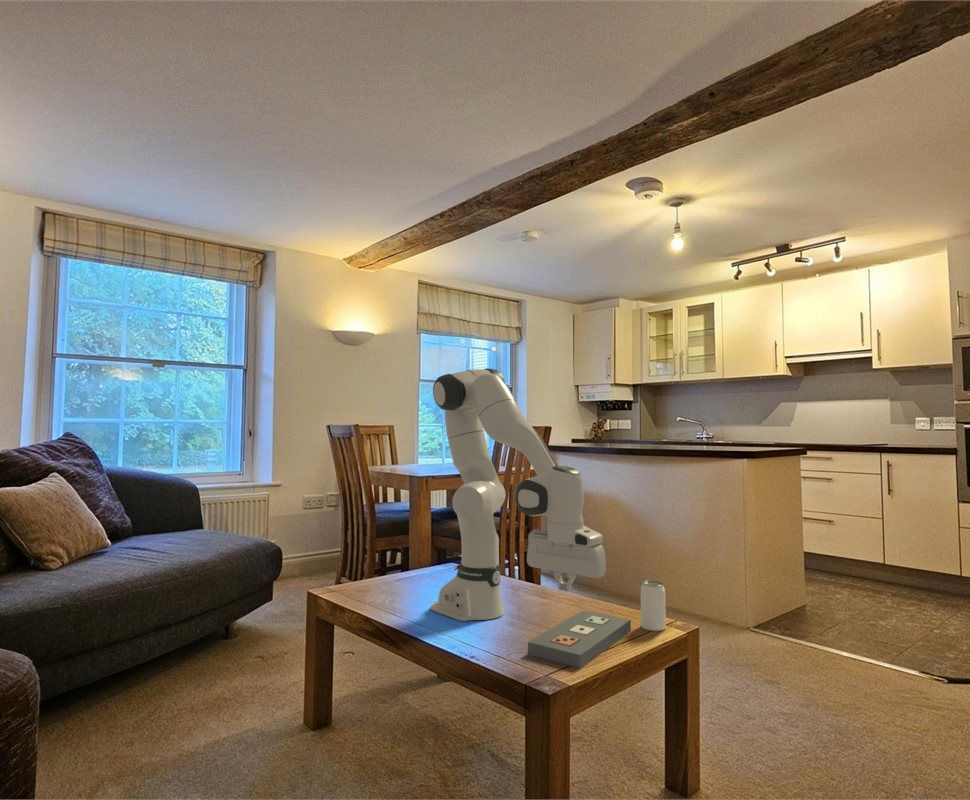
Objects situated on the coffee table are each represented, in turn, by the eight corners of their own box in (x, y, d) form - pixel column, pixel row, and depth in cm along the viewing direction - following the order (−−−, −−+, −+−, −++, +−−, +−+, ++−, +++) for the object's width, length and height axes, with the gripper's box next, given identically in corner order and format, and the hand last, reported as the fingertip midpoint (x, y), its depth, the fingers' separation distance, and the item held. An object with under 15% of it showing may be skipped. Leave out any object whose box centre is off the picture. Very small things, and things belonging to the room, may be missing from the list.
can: (646, 622, 165) (646, 578, 165) (669, 627, 161) (668, 582, 161) (636, 628, 160) (636, 583, 160) (659, 633, 156) (659, 587, 156)
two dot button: (584, 632, 156) (584, 619, 157) (592, 626, 160) (592, 615, 161) (601, 636, 153) (601, 623, 154) (609, 630, 158) (609, 618, 158)
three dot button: (551, 653, 142) (551, 639, 142) (561, 647, 146) (561, 633, 146) (570, 658, 139) (569, 644, 139) (579, 651, 143) (579, 638, 143)
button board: (527, 654, 142) (527, 641, 142) (583, 621, 166) (583, 610, 166) (580, 668, 133) (580, 655, 134) (630, 631, 158) (630, 619, 158)
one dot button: (568, 642, 149) (568, 629, 149) (577, 636, 153) (577, 624, 153) (586, 646, 146) (586, 633, 146) (595, 640, 150) (595, 627, 150)
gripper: (522, 530, 147) (521, 585, 147) (597, 540, 135) (597, 601, 135) (535, 526, 152) (534, 580, 152) (608, 536, 141) (608, 594, 140)
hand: (564, 590), depth 143 cm, fingers closed
